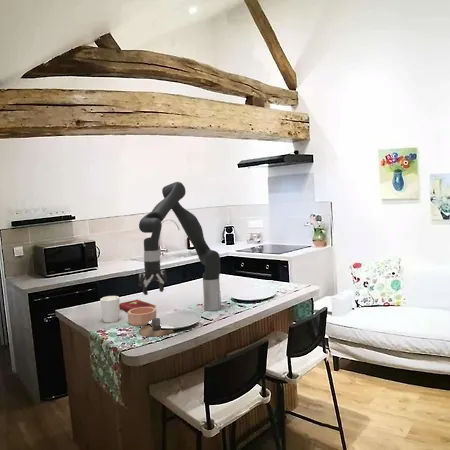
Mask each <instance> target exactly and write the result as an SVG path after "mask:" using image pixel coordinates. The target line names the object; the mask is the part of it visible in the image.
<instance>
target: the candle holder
mask: <svg viewBox="0 0 450 450" xmlns="http://www.w3.org/2000/svg"><path fill="white" fill-rule="evenodd" d="M99 301H100V306H101V312H102V313H101V314H102V321H103V323H106V324H107V323H116V322H118V321H120V308H119V304H120V296H118V295H107V296H103V297H102V298H100V300H99Z"/></svg>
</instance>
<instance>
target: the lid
mask: <svg viewBox="0 0 450 450" xmlns="http://www.w3.org/2000/svg"><path fill="white" fill-rule="evenodd" d="M160 324H161V318H159V317H157V318H154V319H152V324H150V325H152V327H151V326H150V325H145V326H142V327H141V328H140V329H139V330H138V335H140V337H141V336H142V337H146V338H158V337H159V338H160V337H164V336H168V335H170V334H172V333H174V331H173V330H161V329H160V328H161V326H160Z"/></svg>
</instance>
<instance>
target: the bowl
mask: <svg viewBox="0 0 450 450" xmlns="http://www.w3.org/2000/svg"><path fill="white" fill-rule="evenodd" d="M156 317H157V308H156V307H155V308H153V307H139V308H134V309H131V310H129V311H128V312H127V322H128V324H129V325H131V326H134V327H145V326H148V325H147V324H148V322H149V321H151V320H152V319H154V318H156Z"/></svg>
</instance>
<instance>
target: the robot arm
mask: <svg viewBox="0 0 450 450" xmlns="http://www.w3.org/2000/svg"><path fill="white" fill-rule="evenodd" d="M186 191H187V190H186V188H185V185H184V183H182V182H180V181H175V182H172V183H169V184H167V185H165V186H164V187H162V190H161V193H162V195H163V199H162V200H160V201H159V202H158V203H157V204H156V205H155V206H154V207H153V209H152V210H151V211H150V212H149V213H147V214H145V215H144V216H143V217H142V218H141V219H140V220H139V222H138V223H139V224H138V229H139V231H141V232H142V233H145V234H147V233H148V234H151V235H150V237H146V238H144V239H143V266H144V268H143V269H144V273H140V272H139V274H138V286H139V287H142V293H143V294H144V296H148V286H149V284H150V283H151V282H155V281H157V282H159V284H158V285H159V292H161V293H163V292H164V290H165V287H164V286H165V285H164V284H165V283H168V275H167V270H166V269H161V254H160V244H159V242H160V237H161V233H162V228H163V227H162V226H163V225H162V222H163V221H164V220H165V218H166V217H167V215H168V213H169V212H170V211H171V210H172V212H173V213H174V214H175V216H176V218H177V219H178V222H179V223H180V225H181V227H182V230H183V231H184V233H185V234H186V236H187V238H188V239H189V241H190V242H191V244H192V246H193V248H194V249H195V252H196V255H197V256H198V259H199V261H200V263H201V264H202V265H203V266H204V272H203V273H202V288H203V290H202V291H203V308H204V310H205V311H208V312H209V311H210V312H212V311H219V310H220V311H221V308H222V298H221V295H222V293H221V290H220V289H221V287H220V285H221V283H220V276H221V256H220V254H219V252H218V251H216V250H213V249H211V248H210V246H208V244H207V242H206V239H205V237H204V231H203V227H202V225H201V223H200V222H199V219H198V218H197V217H196V215H195V214H194V213H192V212H190V211H189V210H187V209H186V208H184V206H182V204H181V203H180V202H179V201H181V200H182V199H183V198H184V197H185V195H186Z"/></svg>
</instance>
